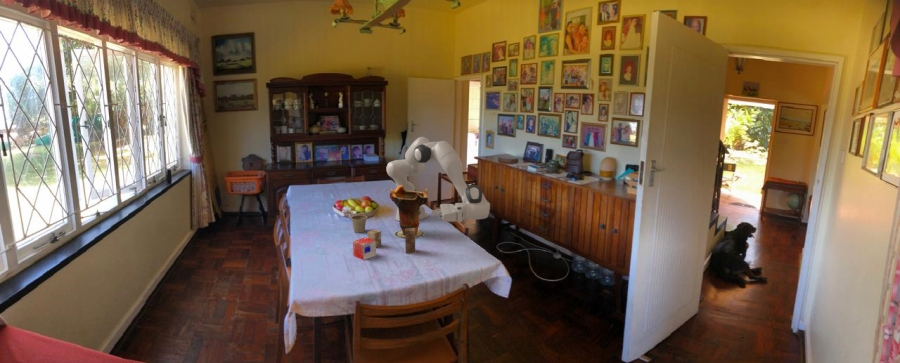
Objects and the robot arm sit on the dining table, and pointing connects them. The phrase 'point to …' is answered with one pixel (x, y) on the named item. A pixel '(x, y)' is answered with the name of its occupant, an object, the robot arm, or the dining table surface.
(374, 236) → the oak block
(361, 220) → the flower pot
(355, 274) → the dining table surface
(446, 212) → the robot arm
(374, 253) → the red and cream cube
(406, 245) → the walnut block
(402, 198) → the decorative vase
